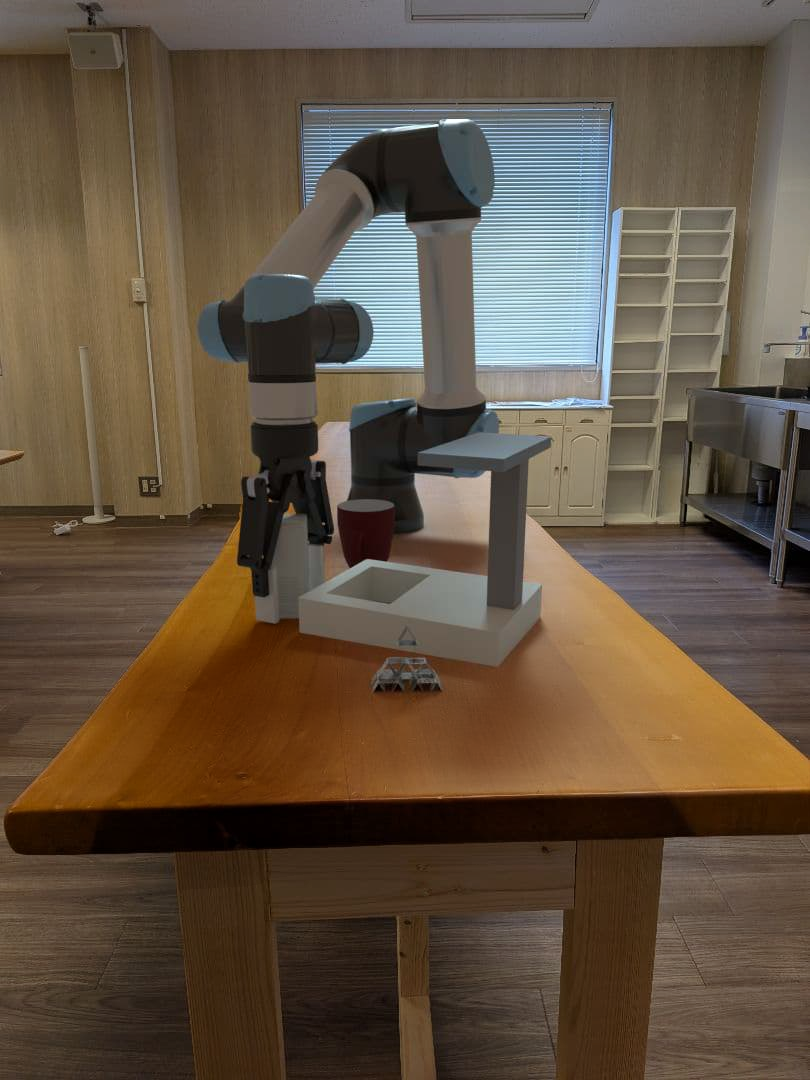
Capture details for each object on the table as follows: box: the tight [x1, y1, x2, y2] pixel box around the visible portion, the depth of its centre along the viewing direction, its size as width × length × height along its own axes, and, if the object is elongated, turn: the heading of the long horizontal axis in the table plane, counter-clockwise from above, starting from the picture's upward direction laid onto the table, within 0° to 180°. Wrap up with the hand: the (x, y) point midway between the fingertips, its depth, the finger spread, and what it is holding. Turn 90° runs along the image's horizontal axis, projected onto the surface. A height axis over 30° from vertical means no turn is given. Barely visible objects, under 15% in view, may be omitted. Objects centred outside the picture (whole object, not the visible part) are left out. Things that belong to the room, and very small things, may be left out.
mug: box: [336, 499, 395, 569], centre depth 101 cm, size 11×8×10 cm
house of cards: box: [371, 625, 443, 693], centre depth 69 cm, size 9×9×8 cm
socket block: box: [298, 559, 543, 668], centre depth 83 cm, size 16×23×5 cm
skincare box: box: [271, 513, 310, 620], centre depth 87 cm, size 6×4×12 cm
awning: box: [418, 432, 552, 610], centre depth 77 cm, size 17×8×17 cm, turn 155°
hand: (292, 606), depth 88 cm, fingers open, 9 cm apart
